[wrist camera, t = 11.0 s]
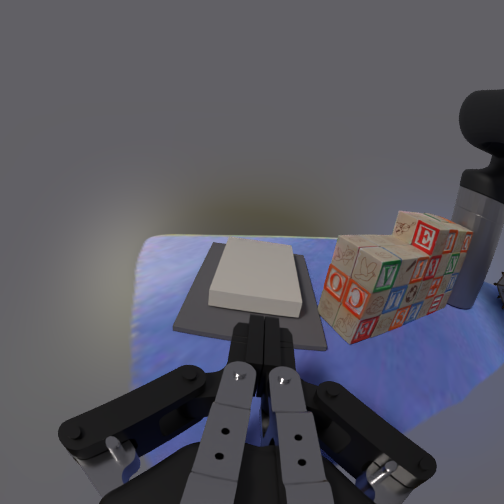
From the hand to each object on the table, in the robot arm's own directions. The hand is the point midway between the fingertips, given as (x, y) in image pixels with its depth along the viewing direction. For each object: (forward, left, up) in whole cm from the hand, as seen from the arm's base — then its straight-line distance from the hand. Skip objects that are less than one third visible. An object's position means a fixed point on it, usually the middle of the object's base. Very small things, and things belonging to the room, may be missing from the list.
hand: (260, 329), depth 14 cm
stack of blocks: (-24, -4, -8) cm, 25 cm away
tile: (-6, -10, -6) cm, 13 cm away
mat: (-10, -15, -8) cm, 20 cm away
